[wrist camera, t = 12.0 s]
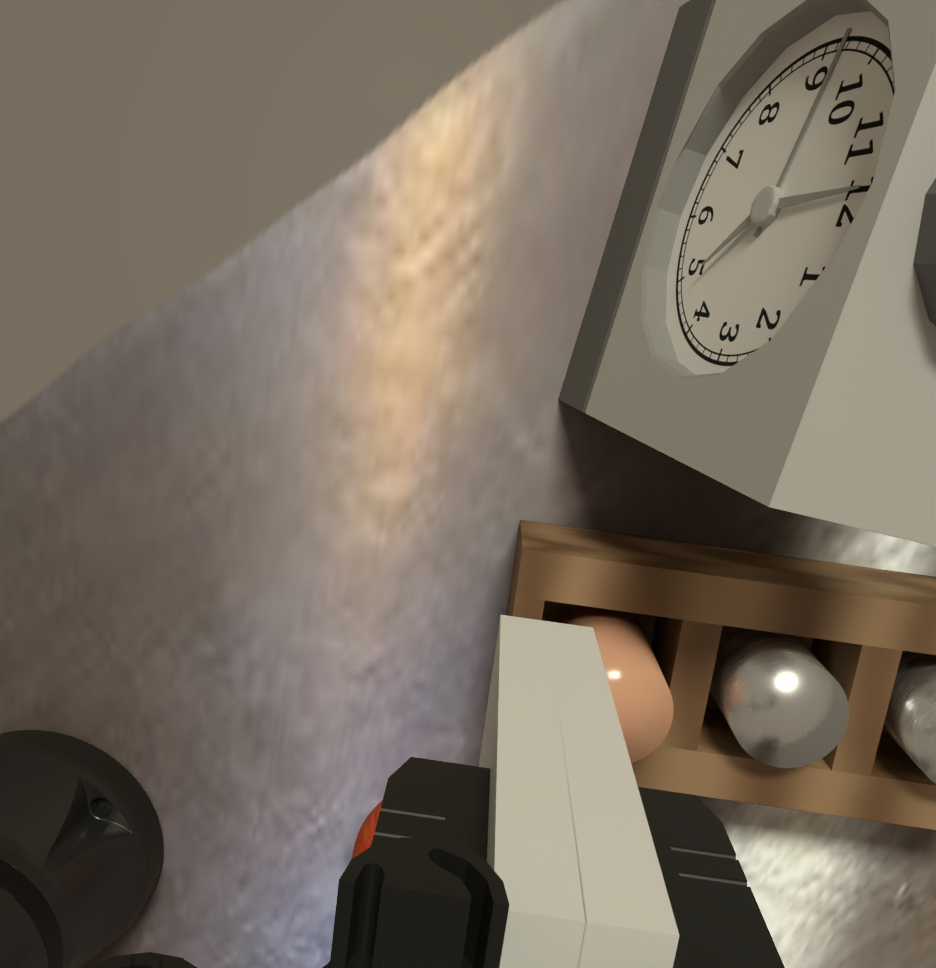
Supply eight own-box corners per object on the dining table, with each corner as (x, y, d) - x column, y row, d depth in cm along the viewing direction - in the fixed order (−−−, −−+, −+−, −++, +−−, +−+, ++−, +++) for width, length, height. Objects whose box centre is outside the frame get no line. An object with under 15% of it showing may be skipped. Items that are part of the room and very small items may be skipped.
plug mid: (690, 694, 46) (721, 759, 40) (708, 604, 45) (744, 654, 38) (786, 708, 46) (834, 775, 39) (807, 618, 45) (860, 671, 38)
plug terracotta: (538, 689, 45) (543, 756, 38) (553, 595, 43) (561, 646, 37) (638, 703, 44) (661, 773, 38) (655, 609, 43) (683, 663, 36)
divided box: (492, 711, 48) (490, 765, 42) (520, 519, 46) (522, 549, 40) (958, 778, 47) (1022, 842, 42) (1012, 587, 45) (1088, 627, 39)
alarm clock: (678, 7, 40) (845, -301, 20) (978, 96, 40) (1435, -124, 20) (557, 399, 44) (597, 461, 24) (829, 478, 44) (1088, 604, 25)
